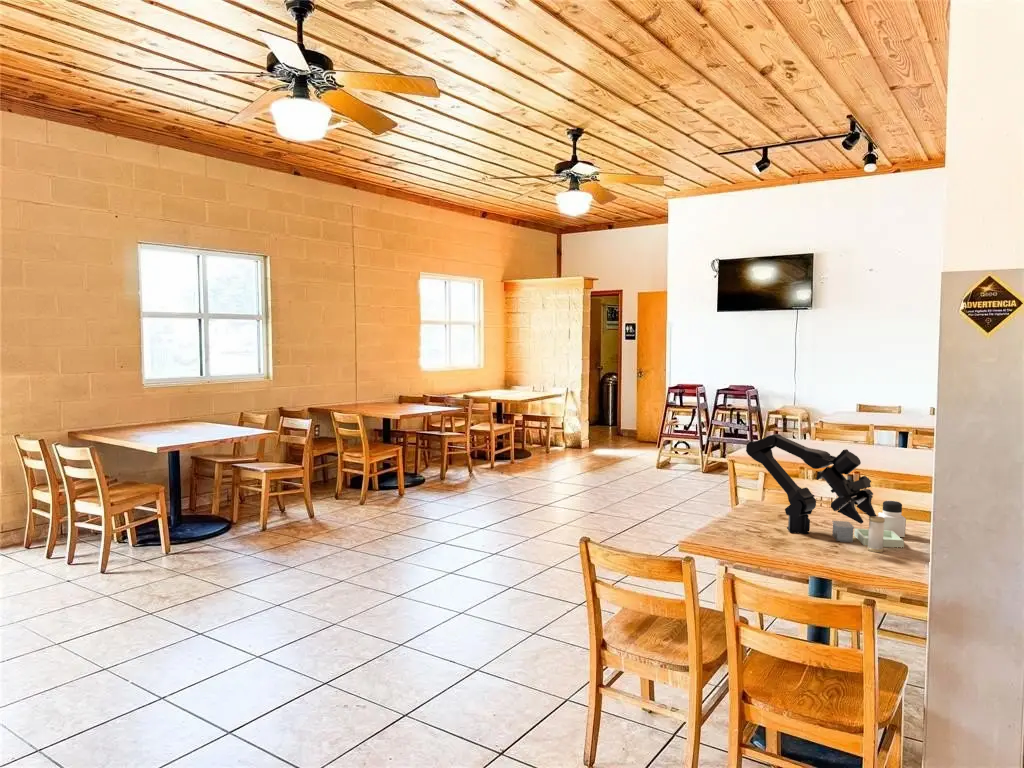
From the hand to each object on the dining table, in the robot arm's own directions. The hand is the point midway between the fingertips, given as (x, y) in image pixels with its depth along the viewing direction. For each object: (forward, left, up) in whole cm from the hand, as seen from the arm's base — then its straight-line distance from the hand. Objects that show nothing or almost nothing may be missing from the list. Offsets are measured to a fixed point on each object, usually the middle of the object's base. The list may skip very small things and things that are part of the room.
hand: (869, 520), depth 237 cm
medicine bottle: (+13, +21, -10) cm, 26 cm away
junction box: (-6, +10, -9) cm, 15 cm away
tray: (+6, +10, -9) cm, 15 cm away
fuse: (+2, -1, -9) cm, 10 cm away
